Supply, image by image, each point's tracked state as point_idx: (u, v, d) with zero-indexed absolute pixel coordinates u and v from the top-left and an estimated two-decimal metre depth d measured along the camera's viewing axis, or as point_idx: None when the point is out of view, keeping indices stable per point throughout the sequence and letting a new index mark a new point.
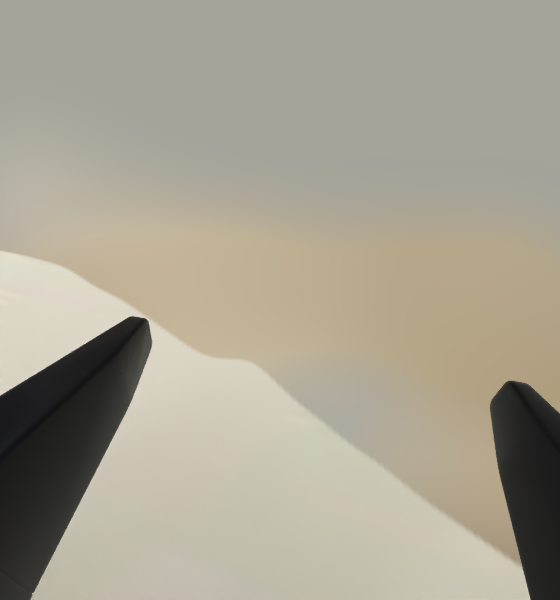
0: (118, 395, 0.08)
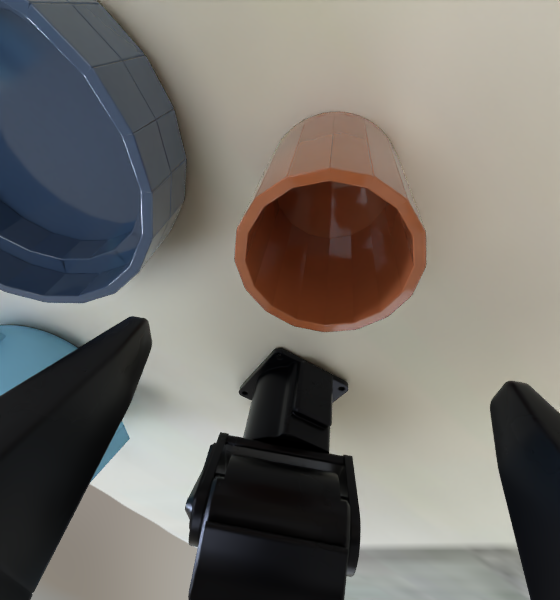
0: (118, 395, 0.08)
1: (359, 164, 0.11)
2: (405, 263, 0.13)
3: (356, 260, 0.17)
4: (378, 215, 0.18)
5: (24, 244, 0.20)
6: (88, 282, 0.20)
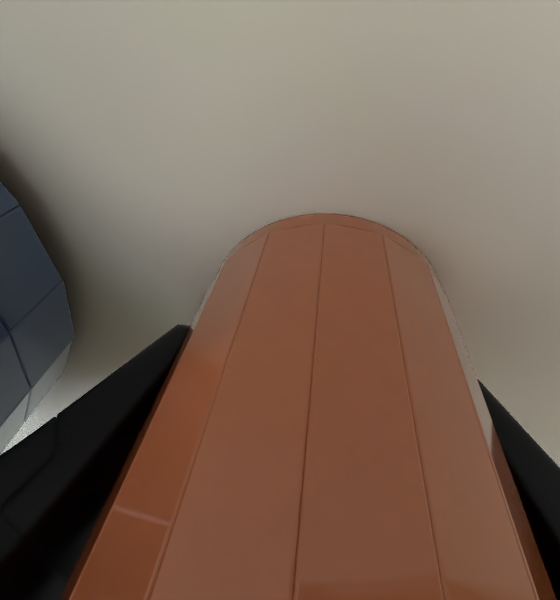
0: None
1: (397, 569, 0.03)
2: None
3: None
4: None
5: None
6: None
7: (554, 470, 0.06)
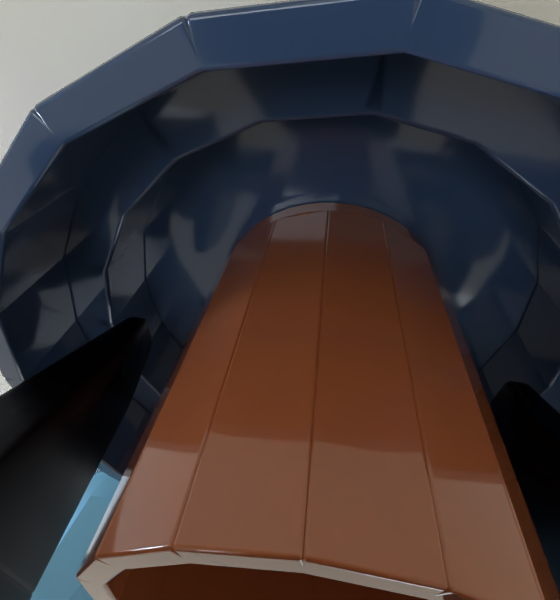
0: (118, 395, 0.08)
1: (395, 490, 0.04)
2: None
3: None
4: None
5: None
6: None
7: None
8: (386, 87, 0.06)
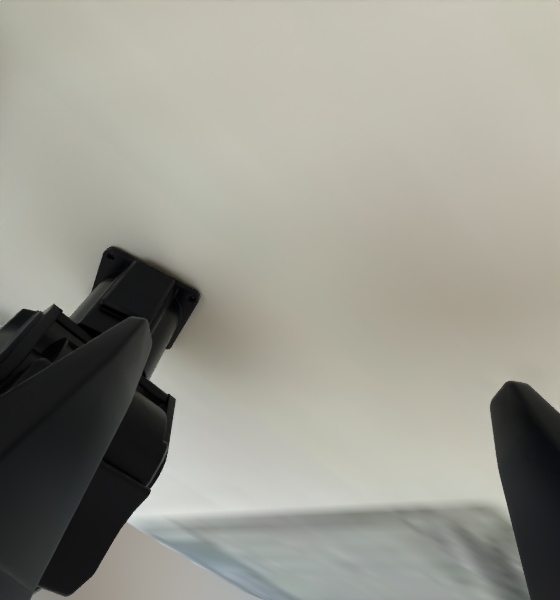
0: (118, 395, 0.08)
1: None
2: None
3: None
4: None
5: None
6: None
7: None
8: None
